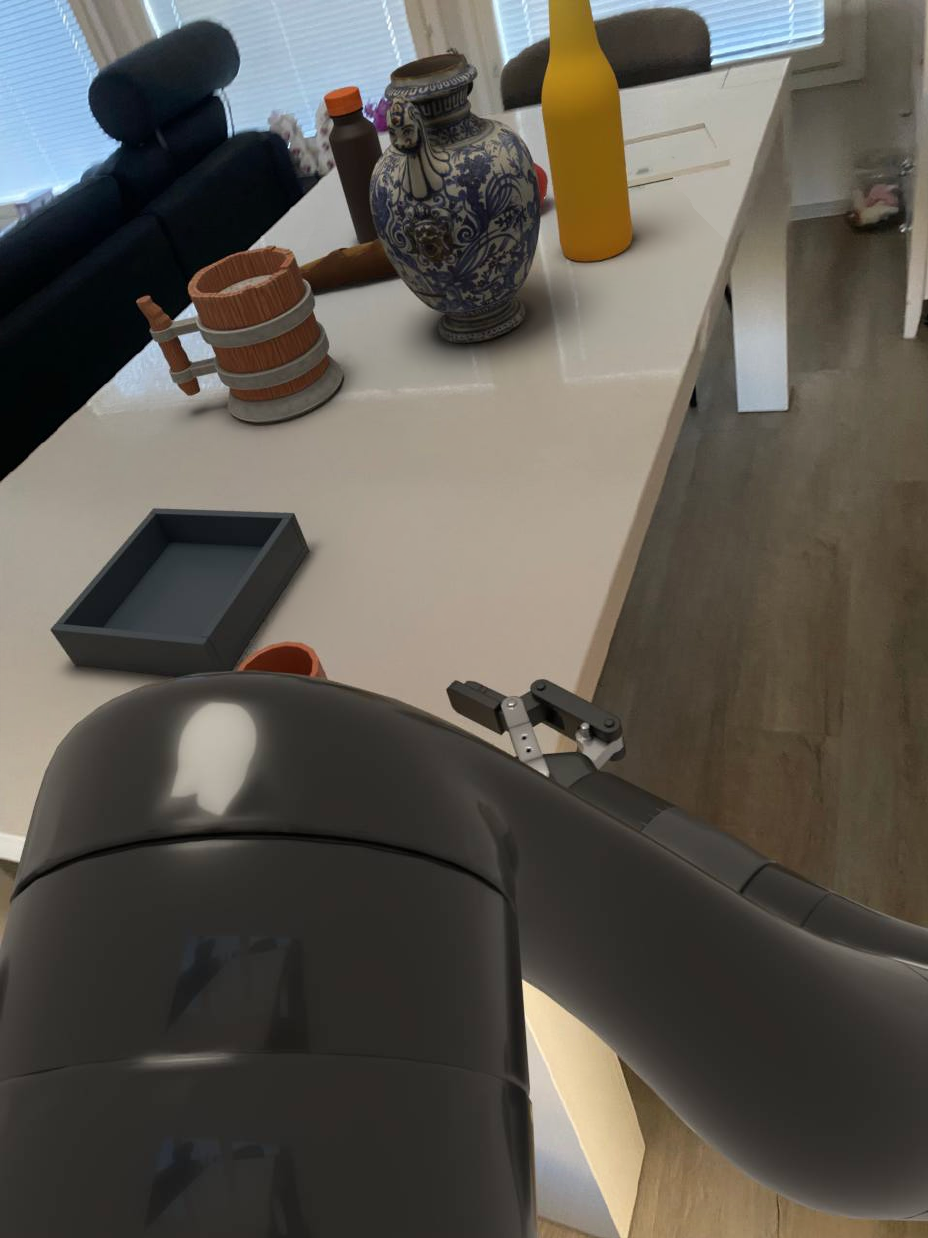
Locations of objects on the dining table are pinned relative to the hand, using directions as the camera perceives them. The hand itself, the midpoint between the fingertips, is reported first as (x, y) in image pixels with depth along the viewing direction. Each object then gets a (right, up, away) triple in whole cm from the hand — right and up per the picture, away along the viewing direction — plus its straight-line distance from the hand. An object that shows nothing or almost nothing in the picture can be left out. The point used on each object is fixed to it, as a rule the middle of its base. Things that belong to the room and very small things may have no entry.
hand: (403, 744), depth 53 cm
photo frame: (+34, +75, +88) cm, 121 cm away
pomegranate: (+11, +66, +85) cm, 108 cm away
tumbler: (-6, -4, +14) cm, 16 cm away
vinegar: (-9, +64, +89) cm, 110 cm away
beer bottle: (+21, +55, +70) cm, 91 cm away
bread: (-7, +54, +78) cm, 96 cm away
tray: (-21, +8, +32) cm, 39 cm away
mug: (-20, +33, +59) cm, 71 cm away
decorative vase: (+6, +42, +61) cm, 75 cm away
